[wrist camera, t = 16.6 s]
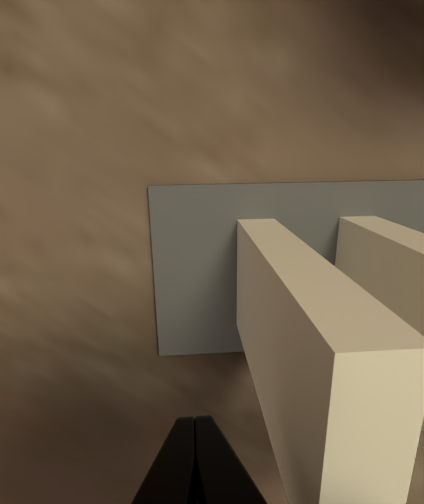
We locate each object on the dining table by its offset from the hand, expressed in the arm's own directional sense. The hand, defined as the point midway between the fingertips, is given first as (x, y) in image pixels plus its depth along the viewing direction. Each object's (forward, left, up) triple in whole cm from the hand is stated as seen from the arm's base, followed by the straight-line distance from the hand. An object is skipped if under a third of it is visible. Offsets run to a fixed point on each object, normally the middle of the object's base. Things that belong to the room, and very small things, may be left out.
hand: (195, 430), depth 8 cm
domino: (+1, -3, -8) cm, 8 cm away
